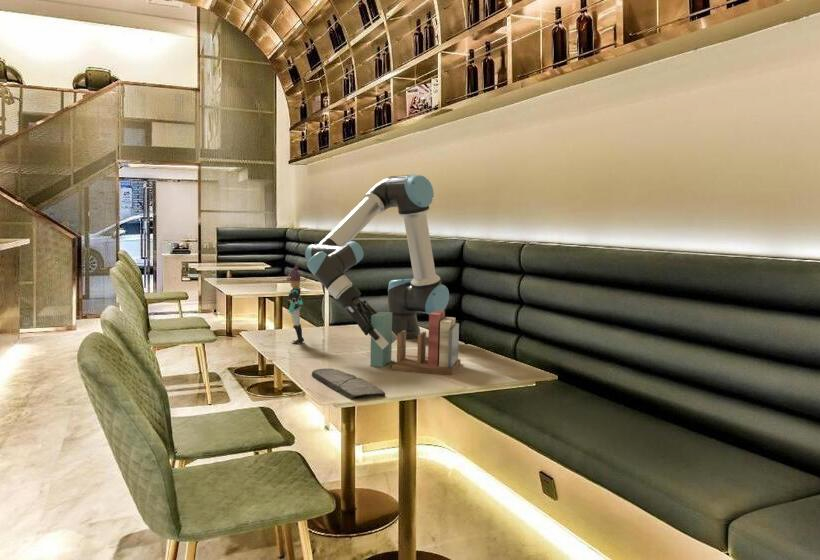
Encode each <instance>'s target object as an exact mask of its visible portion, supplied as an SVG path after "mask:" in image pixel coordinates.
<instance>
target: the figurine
mask: <svg viewBox="0 0 820 560" xmlns="http://www.w3.org/2000/svg"><path fill="white" fill-rule="evenodd" d="M299 265H300V262H299V263H296V264H295V266H294V267H293V269H291V270H290V273H289V274H288V275H287V277H286V279H283V280H282V282H283V283H287V282H289V283H290V287H291V288H292V289H290V290H289V292H288V298H289V299H286V301H288V302H289V306H288V307H289V308H288V310H287V312H288V313H289V314H290V317H291V322H292V324H293V326H292V329H294V331H295V333H296V336H297V339H296V340H292V342H291V344H292V345H298V344H303V342H304V341H305V339H304V337H303V328H302V324H301V322H300V319H301V315H300V310H301V309H302V307H301V306H299V305H304V302H303V298H302V297H301V292H302V291H301V290H302V287H300V285H301V282H305V281H307V280H308V279H301V275H300V273H299V271H298V270H299ZM290 275H291V276H290Z"/></svg>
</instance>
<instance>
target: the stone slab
mask: <svg viewBox="0 0 820 560" xmlns="http://www.w3.org/2000/svg"><path fill="white" fill-rule="evenodd" d="M311 376H312V378H313V379H314V380H316V381H317V382H319V383H320V384H322V383H323V385H325V386H326V387H327V388H329V389H330V390H332V391H334V392H335V393H338V394H339V395H341V396H343V397H345V398H347V399H348V400H350V401H351V400H353V399H354V398H356V397H359V396H364V395H379V396H383V397H385V396H386V392H385V390H383V389H381V388H380V387H378V386H376V385H375V384H374V383H371V381H368V380H366V379H363V378H361V377H358V376H356V375H354V374H351V373H348V372H345V371H343V370H339V369H336V368H319V369H314V370H313V371H312V372H311Z"/></svg>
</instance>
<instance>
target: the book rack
mask: <svg viewBox="0 0 820 560" xmlns="http://www.w3.org/2000/svg"><path fill="white" fill-rule="evenodd" d="M456 320H457V319H456V317H453V316H446V310H443V311H441V310H435V311H434V312H432V313H430V314H428V341H427V332H426V331H421V332H420V334H419V335H418V337H417V354H416V355H409V354H408V355H407V354H406V353H407V352H406V350H407V338H406V331H404V330H403V331H401V332H400V333H398V334H397V339H396V346H397V347H396V362H394V363H393V364H392V369H391V371H398V372H399V371H401V372H413V373H423V374H424V373H426V374H439V375H449V376H452V375H453V374H454V372H456V370H457V369H458V367H460V365H461V358H459V340H460V338H459V335H460V323H458V322H456ZM426 341H427V342H428V346H427V342H426ZM426 347H427V348H426ZM426 349H427V351H428V352H427V356H426Z"/></svg>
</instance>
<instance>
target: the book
mask: <svg viewBox="0 0 820 560" xmlns="http://www.w3.org/2000/svg"><path fill="white" fill-rule="evenodd" d="M370 323H371V325H372V326H373V328H374V329H375V328H376V329H377V331H378V332H379V333H380V334H381V335H382V336H383V337H384V338H385V340H386V341H387V342H388V343H389V344H388V345H387V346H386V347H385V348H384V349H383V350H382V349H381V347H380V346H379V345H378V344H377V343H376V342H375V341H374V340H373V338H372V337H371V336H370V360H369V361H370V363H369V364H370V366H369V367H378V368H380V367H381V368H384V367H385V366H386V365H387V364H389V363H390V362H392V349H393V347H392V346H393V345H392V344H393V343H392V312H388V311H379V312H377V313H376V314H374V315H372V316H371V321H370Z"/></svg>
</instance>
